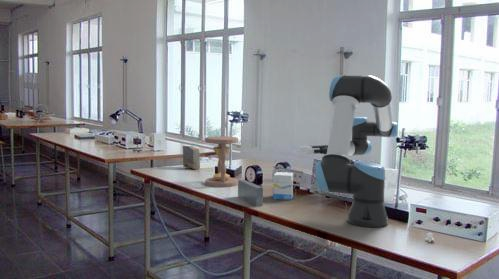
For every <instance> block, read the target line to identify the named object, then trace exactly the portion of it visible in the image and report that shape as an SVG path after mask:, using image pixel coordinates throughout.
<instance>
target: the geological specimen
mask: <svg viewBox="0 0 499 279" xmlns="http://www.w3.org/2000/svg"><path fill="white" fill-rule="evenodd" d="M200 156H201V155H200V148H198V147H195V146H193V145H182V166H183V168H189V169H191V168H192V169H193V170H197V169H200V168H201V165H200V164H201V160H200Z"/></svg>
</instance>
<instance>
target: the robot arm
mask: <svg viewBox="0 0 499 279" xmlns="http://www.w3.org/2000/svg"><path fill="white" fill-rule="evenodd" d="M329 85H330V86H329V92H328V94H329V95H328V96H329V101H330V102H331V105H332V106H333V107H334V110H333V116H332V121H331V125H330V126H331V128H330V132H329V139H328V144H327V145H326V144H325V145H323V144H321V145H309V146H299V153H300V154H301V153H302V154H303V153H307V154H306V155H322V157H321V160H319V161H317V162H316V164H315V172H314V173H315V183H316V187H317V188H318V190H319V191H321V192H327V193H339V194H348V195H349V194H350V195H352V204H351V206H350V209H349V212H348V214H347V221H348V223H350V224H352V225H355V226H360V227H365V228H380V227H386V226H387V225H389V217H388V213H387V210H386V206H385V188H386V187H385V184H386V183H385V182H386V169H385V166H383V165H382V164H379V163H376V162H371V161H368V160H367V161H366V160H355V161H354V162H353V163H352V161H351V159H350V158H349V156H351V157H352V156H365V155H368V154H370V153H371V151H372V150H373V149H372V147H373V146H372V143H371V141H370V140H368V137H376V138H377V137H381V138H396V137H397V136H398V133H399V132H398V131H399V130H398V128H399V124H398V122H395V121H393V117H392V116H393V115H392V107H391V102H392V97H393V96H392V91H391V89H390V88H389V86H388V84H386V83H385V81H383V80H381V79H380V78H378V77H376V76H374V75H370V74H369V75H367V74H366V75H345V74H344V75H343V74H342V75H336V76H335V77H333V78H332V81H331V82H330V84H329ZM360 103H363V104H364V103H365V104H366V103H368V104H370V105H371V106H372V109H373V114H374V119H375V121H373V120H368V119H369V118H368V117H365V116H355V113H356V112H355V111H356V110H357V109H358V108H359V107H360Z"/></svg>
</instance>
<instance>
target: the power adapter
mask: <svg viewBox="0 0 499 279" xmlns="http://www.w3.org/2000/svg"><path fill="white" fill-rule="evenodd" d="M425 236H426V238H425V241H426V242H428V243H431V242H433V243H435V238H434V237H433V236H434V234H433V233H432V232H428V233H427V234H425Z"/></svg>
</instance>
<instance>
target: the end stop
mask: <svg viewBox="0 0 499 279" xmlns="http://www.w3.org/2000/svg"><path fill="white" fill-rule="evenodd" d="M237 180H238V184H237V197H238V198H241V199H242V200H244V201H246V202H247V203H249V204H252V205H253V206H255V207H260V206H261V207H262V206H264V205H263V200H264V198H263V196H264V187H263V186H261V185H258V184H255V183H254V182H251V181H249V180H245V179H237Z"/></svg>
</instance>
